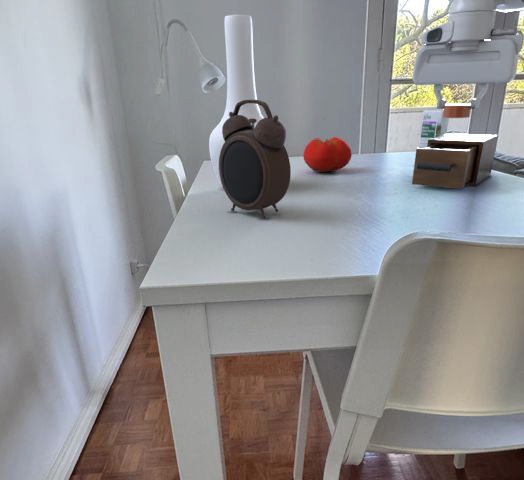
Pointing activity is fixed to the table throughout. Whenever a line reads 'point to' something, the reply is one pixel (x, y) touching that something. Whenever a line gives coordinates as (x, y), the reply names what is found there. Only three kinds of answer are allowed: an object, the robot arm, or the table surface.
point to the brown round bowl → (456, 111)
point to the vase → (236, 80)
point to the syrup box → (432, 126)
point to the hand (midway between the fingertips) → (457, 108)
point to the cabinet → (484, 153)
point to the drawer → (445, 165)
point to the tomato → (327, 154)
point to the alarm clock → (254, 160)
